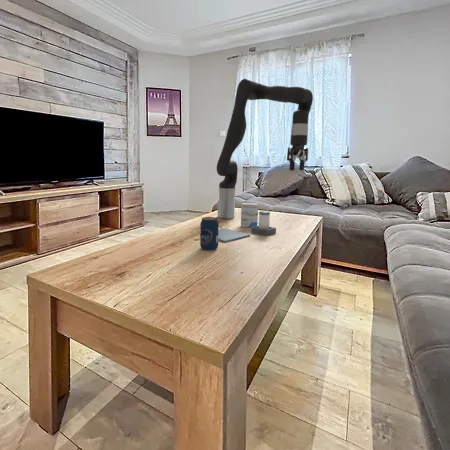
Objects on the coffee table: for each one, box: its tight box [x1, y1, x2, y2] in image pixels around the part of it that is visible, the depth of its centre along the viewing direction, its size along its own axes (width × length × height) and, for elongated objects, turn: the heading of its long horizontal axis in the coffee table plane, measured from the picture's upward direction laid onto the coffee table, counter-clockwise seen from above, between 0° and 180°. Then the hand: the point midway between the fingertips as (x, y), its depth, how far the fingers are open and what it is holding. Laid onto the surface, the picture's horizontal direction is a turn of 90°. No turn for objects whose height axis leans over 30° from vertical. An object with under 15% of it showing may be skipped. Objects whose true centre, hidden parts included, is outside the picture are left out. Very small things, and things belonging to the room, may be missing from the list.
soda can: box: [199, 216, 220, 252], centre depth 120 cm, size 7×7×12 cm
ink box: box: [240, 202, 259, 228], centre depth 161 cm, size 8×5×12 cm, turn 84°
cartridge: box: [258, 210, 271, 230], centre depth 147 cm, size 5×5×10 cm
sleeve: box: [251, 225, 277, 237], centre depth 148 cm, size 8×8×2 cm
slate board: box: [218, 228, 251, 243], centre depth 141 cm, size 16×16×1 cm
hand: (296, 170), depth 147 cm, fingers open, 8 cm apart
